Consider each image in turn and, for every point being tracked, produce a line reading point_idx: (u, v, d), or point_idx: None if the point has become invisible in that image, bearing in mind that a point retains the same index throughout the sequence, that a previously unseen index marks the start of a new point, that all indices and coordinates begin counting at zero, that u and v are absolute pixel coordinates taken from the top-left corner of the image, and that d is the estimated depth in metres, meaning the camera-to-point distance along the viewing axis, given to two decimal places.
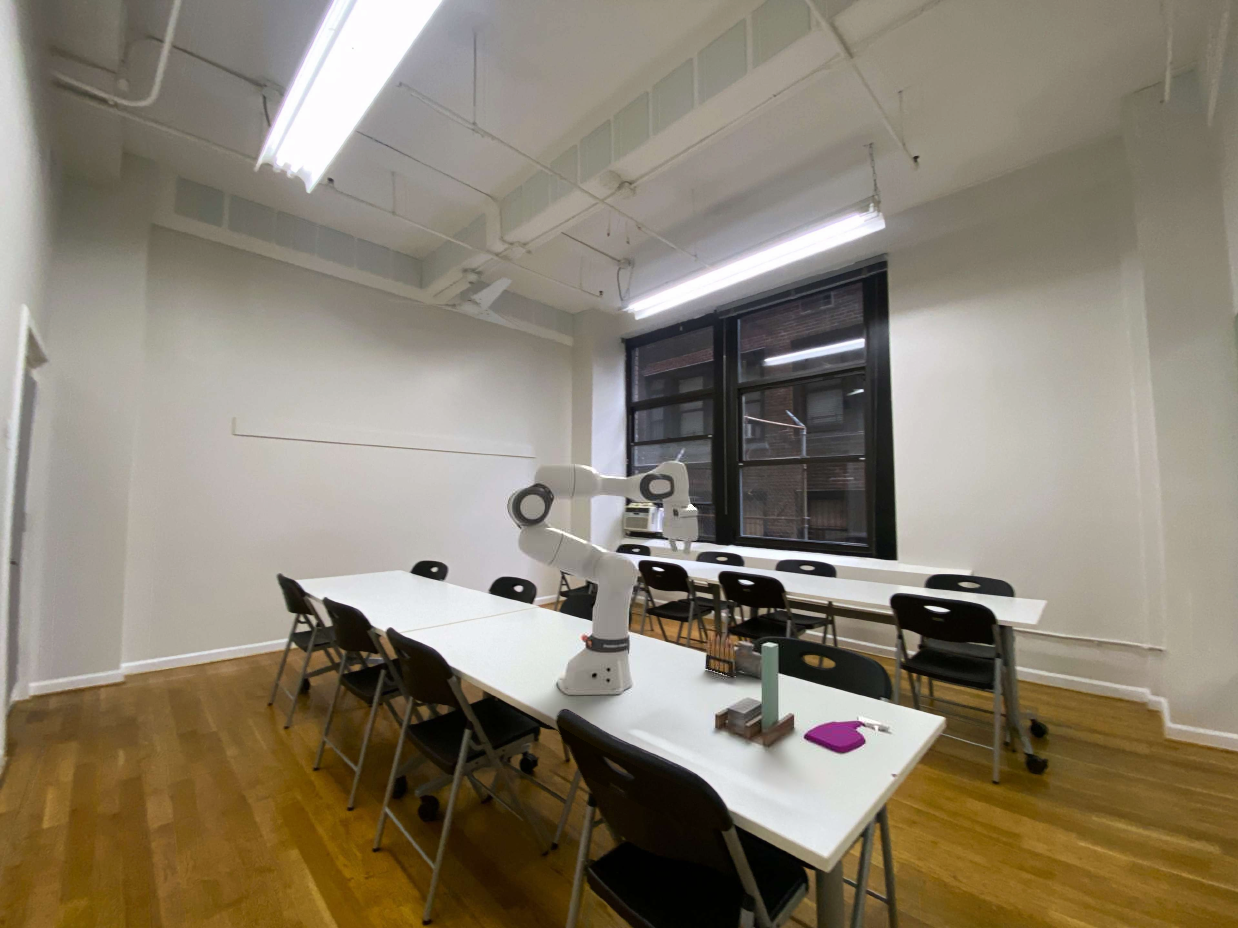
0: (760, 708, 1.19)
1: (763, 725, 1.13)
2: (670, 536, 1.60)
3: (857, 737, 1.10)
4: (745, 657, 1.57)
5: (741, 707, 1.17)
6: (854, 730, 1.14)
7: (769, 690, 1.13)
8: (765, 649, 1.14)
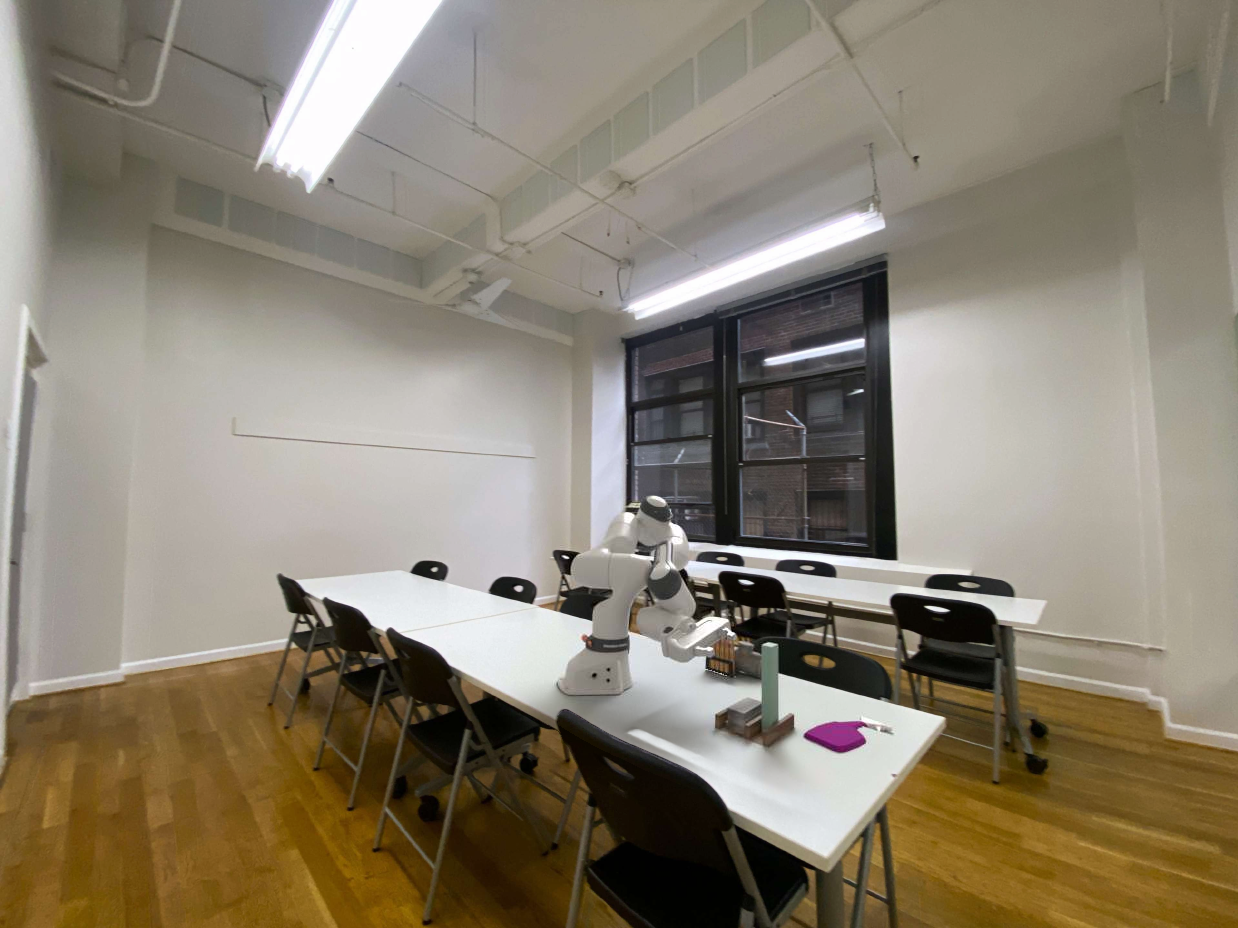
0: (760, 708, 1.19)
1: (763, 725, 1.13)
2: None
3: (857, 737, 1.10)
4: (745, 657, 1.57)
5: (741, 707, 1.17)
6: (855, 730, 1.14)
7: (769, 690, 1.13)
8: (765, 649, 1.14)
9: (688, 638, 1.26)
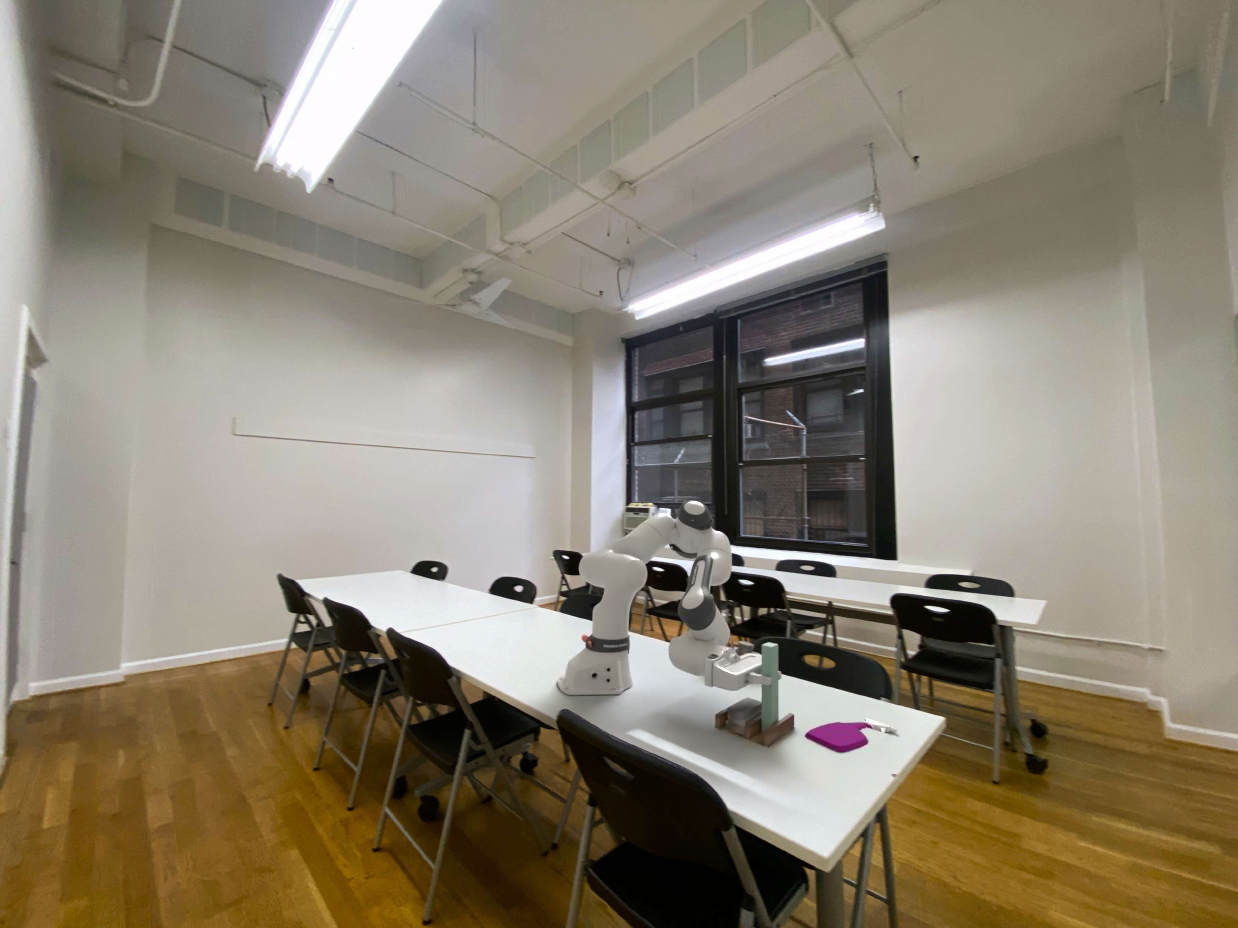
0: (760, 708, 1.19)
1: (763, 725, 1.13)
2: None
3: (859, 738, 1.10)
4: None
5: (741, 707, 1.17)
6: (858, 731, 1.14)
7: (769, 690, 1.13)
8: (765, 649, 1.14)
9: (736, 667, 1.16)
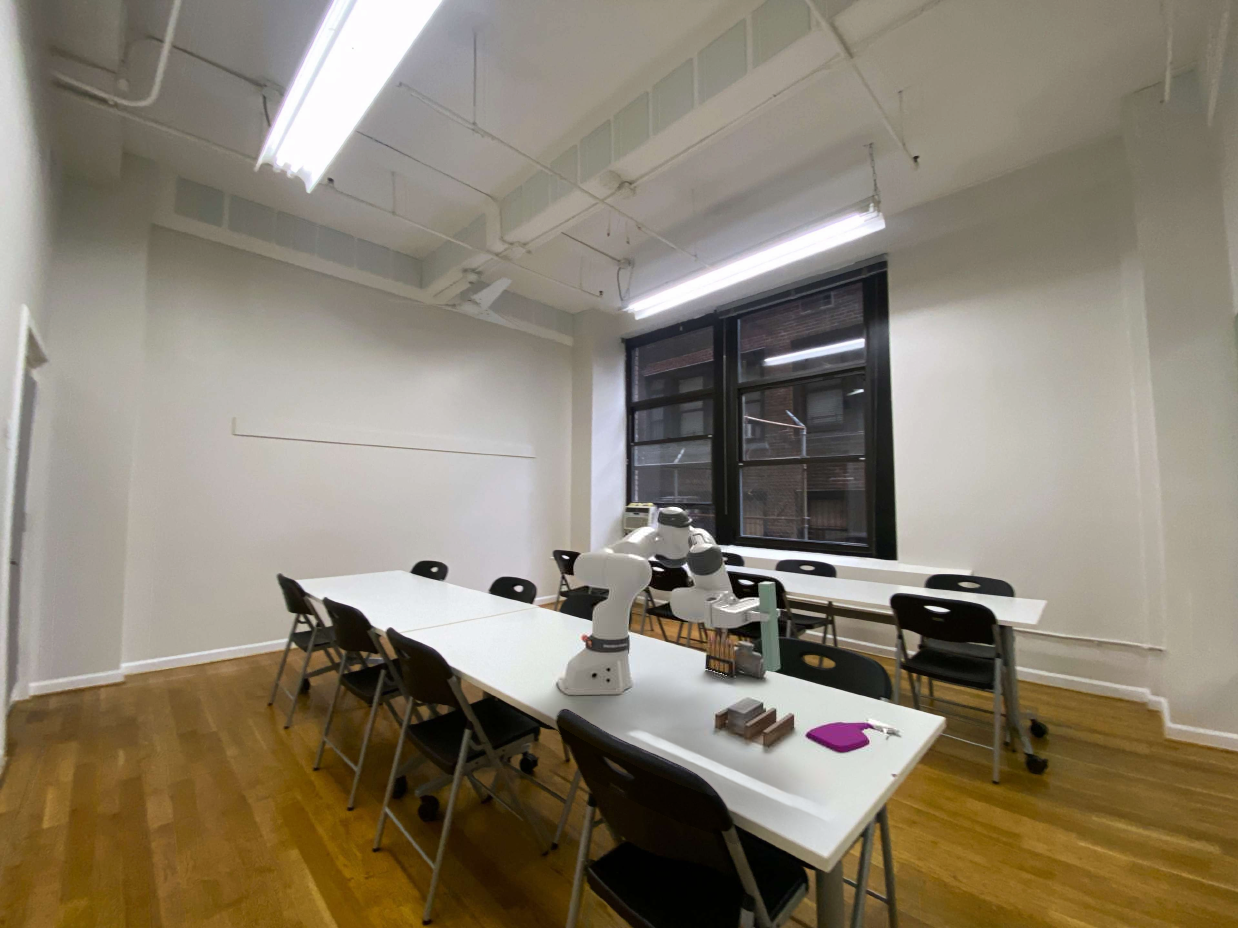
0: (760, 708, 1.19)
1: (764, 662, 1.14)
2: None
3: (860, 738, 1.10)
4: (745, 657, 1.57)
5: (741, 707, 1.17)
6: (859, 731, 1.14)
7: (768, 626, 1.14)
8: (762, 587, 1.15)
9: (734, 607, 1.17)
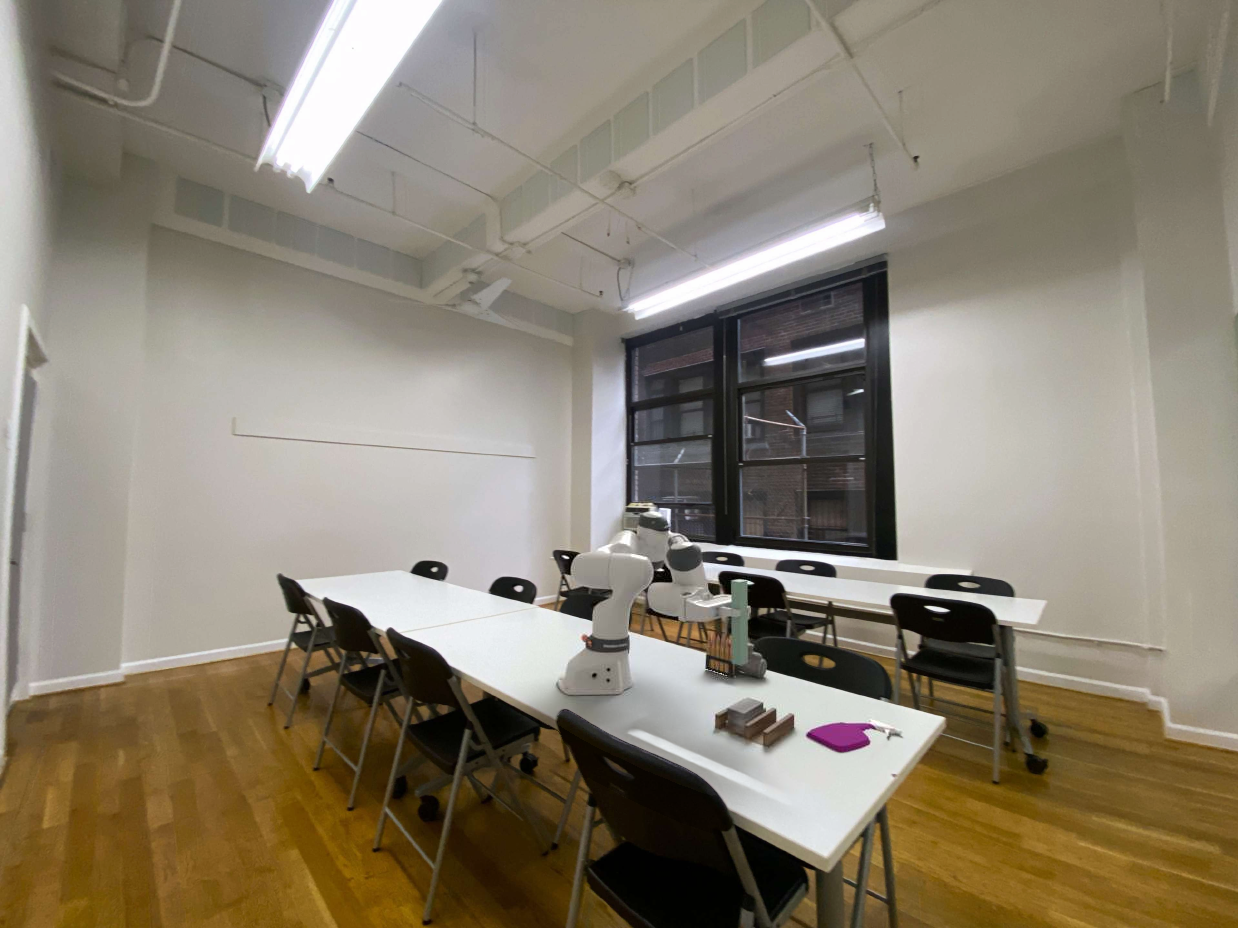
0: (760, 708, 1.19)
1: (733, 655, 1.20)
2: None
3: (861, 738, 1.10)
4: None
5: (741, 707, 1.17)
6: (860, 732, 1.14)
7: (738, 622, 1.20)
8: (734, 584, 1.21)
9: (707, 602, 1.23)
